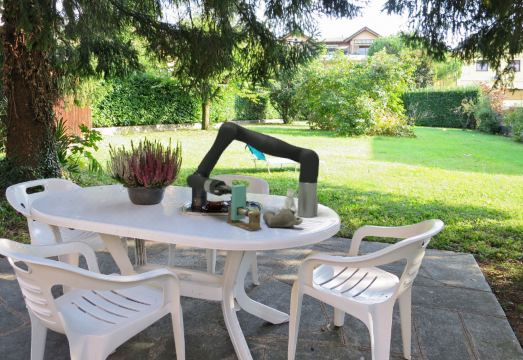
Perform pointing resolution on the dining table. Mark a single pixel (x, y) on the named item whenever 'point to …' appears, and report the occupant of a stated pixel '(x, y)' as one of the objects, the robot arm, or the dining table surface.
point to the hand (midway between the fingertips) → (236, 192)
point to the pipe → (282, 218)
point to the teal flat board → (238, 201)
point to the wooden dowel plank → (251, 226)
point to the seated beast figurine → (289, 201)
